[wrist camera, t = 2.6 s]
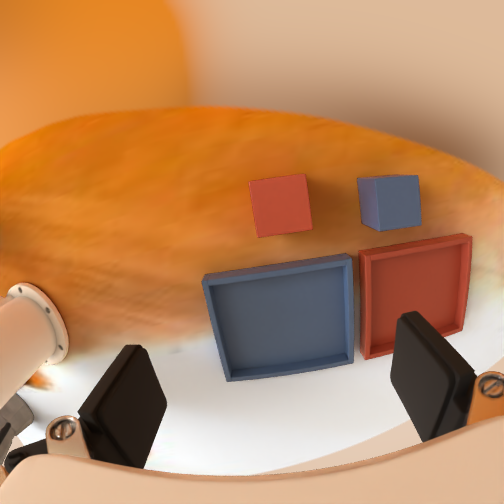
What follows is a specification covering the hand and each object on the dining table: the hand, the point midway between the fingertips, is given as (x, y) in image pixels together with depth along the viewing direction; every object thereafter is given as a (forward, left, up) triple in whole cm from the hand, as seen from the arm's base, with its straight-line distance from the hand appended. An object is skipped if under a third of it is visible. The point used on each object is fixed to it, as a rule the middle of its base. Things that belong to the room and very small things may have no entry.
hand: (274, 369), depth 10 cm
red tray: (+18, +3, -19) cm, 26 cm away
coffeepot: (-30, -51, -19) cm, 62 cm away
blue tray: (+5, -6, -19) cm, 20 cm away
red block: (-1, +4, -19) cm, 19 cm away
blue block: (+8, +9, -19) cm, 23 cm away
